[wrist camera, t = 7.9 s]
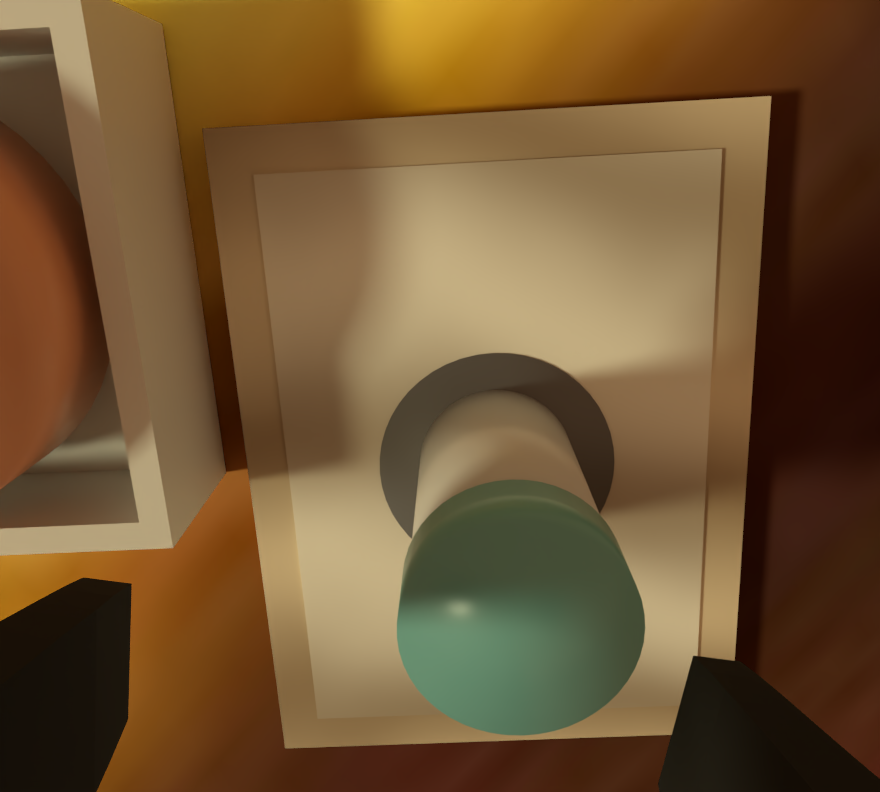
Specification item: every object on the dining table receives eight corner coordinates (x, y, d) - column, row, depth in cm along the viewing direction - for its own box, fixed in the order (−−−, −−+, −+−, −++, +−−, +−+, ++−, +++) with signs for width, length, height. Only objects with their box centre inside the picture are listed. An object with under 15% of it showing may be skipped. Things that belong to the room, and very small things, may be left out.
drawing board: (720, 712, 22) (731, 736, 21) (290, 728, 22) (284, 752, 21) (757, 98, 17) (774, 95, 16) (213, 129, 18) (200, 128, 17)
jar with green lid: (576, 531, 19) (642, 731, 13) (421, 537, 19) (405, 739, 13) (575, 381, 18) (648, 514, 11) (411, 389, 18) (387, 525, 12)
